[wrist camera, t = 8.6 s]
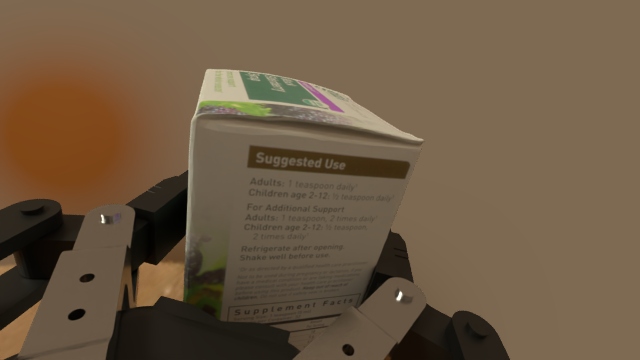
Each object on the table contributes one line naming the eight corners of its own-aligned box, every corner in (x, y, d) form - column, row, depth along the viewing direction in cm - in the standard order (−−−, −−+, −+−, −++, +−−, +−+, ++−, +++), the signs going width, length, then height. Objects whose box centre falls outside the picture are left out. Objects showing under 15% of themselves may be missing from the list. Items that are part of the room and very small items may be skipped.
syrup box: (188, 337, 16) (194, 60, 10) (292, 324, 18) (350, 87, 12) (176, 473, 11) (173, 101, 5) (318, 433, 13) (436, 135, 7)
